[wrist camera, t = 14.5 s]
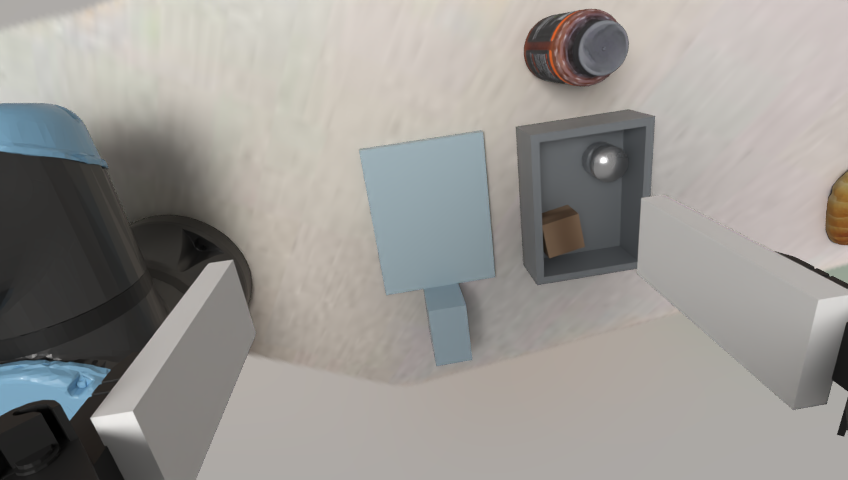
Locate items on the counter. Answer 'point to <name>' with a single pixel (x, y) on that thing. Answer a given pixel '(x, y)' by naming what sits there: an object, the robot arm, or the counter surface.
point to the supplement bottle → (576, 47)
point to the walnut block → (561, 231)
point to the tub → (584, 192)
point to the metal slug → (605, 161)
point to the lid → (433, 227)
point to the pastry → (838, 212)
